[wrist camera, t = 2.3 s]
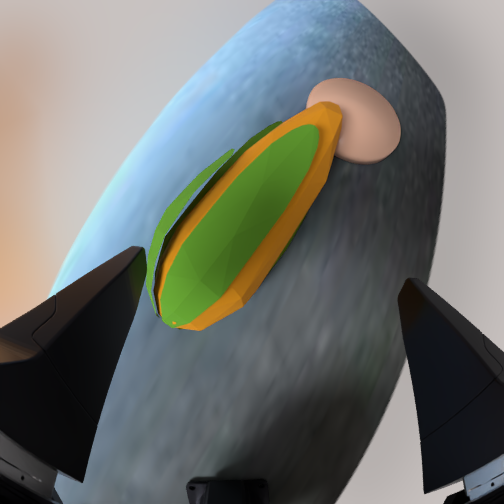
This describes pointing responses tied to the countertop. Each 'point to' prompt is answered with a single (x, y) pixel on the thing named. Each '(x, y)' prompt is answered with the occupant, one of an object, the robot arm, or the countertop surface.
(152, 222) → the countertop surface
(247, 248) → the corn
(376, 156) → the pink flat disc
